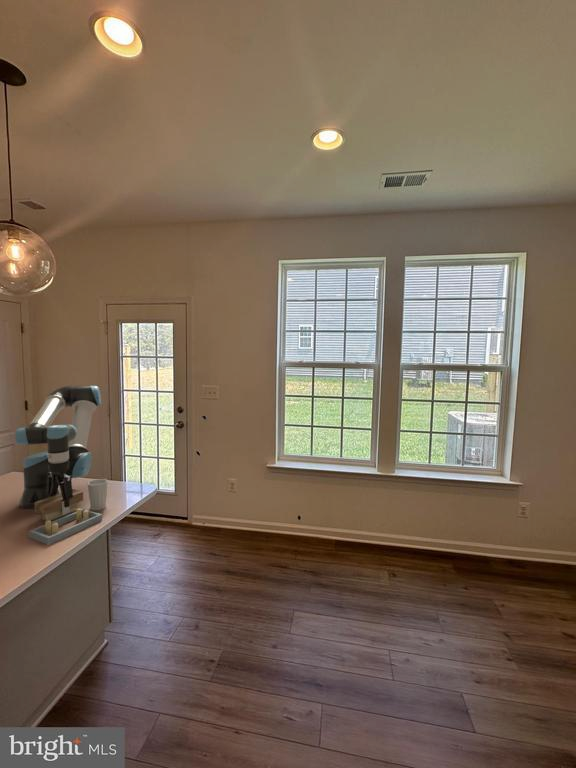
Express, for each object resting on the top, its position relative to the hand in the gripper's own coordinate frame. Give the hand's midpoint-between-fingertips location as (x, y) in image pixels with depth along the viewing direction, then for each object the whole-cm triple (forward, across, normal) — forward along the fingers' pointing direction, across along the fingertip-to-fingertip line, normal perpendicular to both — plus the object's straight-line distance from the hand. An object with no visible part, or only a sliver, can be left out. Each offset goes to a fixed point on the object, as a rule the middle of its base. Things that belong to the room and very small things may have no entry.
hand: (60, 512), depth 142 cm
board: (-3, 0, 0) cm, 3 cm away
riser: (+1, 0, 0) cm, 1 cm away
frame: (+1, +15, -6) cm, 16 cm away
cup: (+1, +8, +12) cm, 14 cm away
